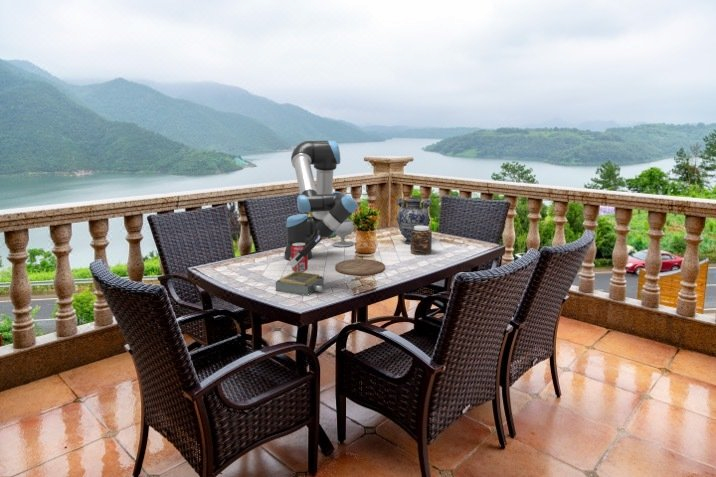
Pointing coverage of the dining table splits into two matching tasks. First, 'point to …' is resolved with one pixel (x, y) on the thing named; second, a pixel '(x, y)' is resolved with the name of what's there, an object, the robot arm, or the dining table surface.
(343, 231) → the chalice
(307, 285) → the grey framed box
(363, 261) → the trivet
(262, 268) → the dining table surface
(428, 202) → the decorative vase
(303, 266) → the soda can
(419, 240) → the jar
